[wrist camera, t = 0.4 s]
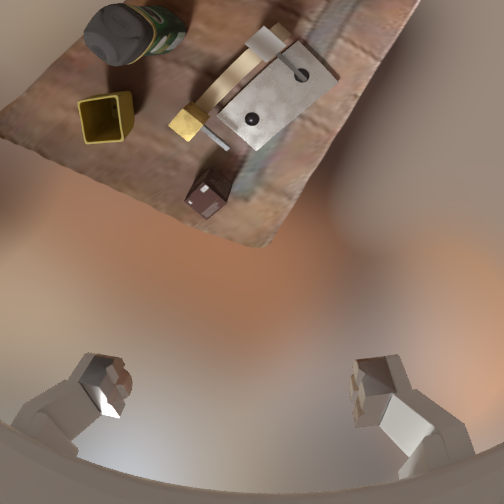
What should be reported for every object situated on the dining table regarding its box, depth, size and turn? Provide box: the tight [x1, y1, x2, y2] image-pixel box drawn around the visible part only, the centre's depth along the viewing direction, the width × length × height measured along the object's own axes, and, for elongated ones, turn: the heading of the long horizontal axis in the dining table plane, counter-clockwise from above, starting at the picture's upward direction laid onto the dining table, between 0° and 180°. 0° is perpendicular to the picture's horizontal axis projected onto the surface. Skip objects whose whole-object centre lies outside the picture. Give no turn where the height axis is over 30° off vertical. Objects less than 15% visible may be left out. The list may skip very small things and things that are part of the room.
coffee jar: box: [84, 3, 186, 66], centre depth 32 cm, size 10×8×19 cm
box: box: [184, 166, 232, 220], centre depth 57 cm, size 6×6×7 cm
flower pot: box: [78, 91, 134, 144], centre depth 46 cm, size 9×9×9 cm
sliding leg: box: [168, 101, 230, 151], centre depth 47 cm, size 4×11×5 cm, turn 46°
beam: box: [195, 22, 307, 114], centre depth 43 cm, size 24×11×8 cm, turn 136°
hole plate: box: [217, 41, 339, 151], centre depth 46 cm, size 20×10×1 cm, turn 136°
